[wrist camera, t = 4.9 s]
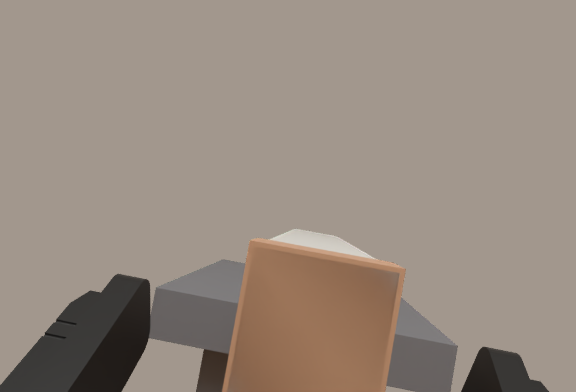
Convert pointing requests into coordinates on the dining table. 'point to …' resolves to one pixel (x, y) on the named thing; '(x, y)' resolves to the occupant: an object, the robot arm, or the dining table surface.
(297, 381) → the bar
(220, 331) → the pedestal
